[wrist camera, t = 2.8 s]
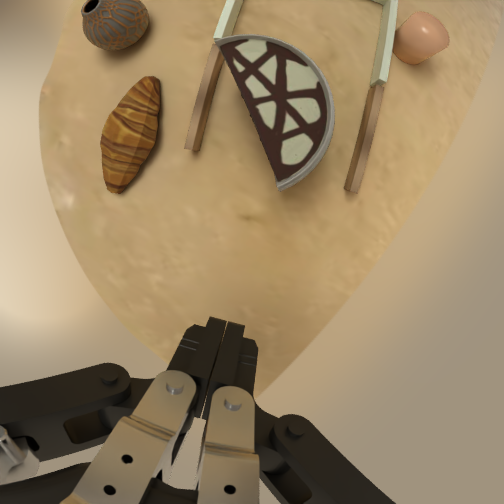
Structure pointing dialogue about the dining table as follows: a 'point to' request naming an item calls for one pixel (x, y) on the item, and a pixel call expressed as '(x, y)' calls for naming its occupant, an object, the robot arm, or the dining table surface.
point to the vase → (114, 22)
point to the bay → (383, 46)
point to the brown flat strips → (362, 141)
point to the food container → (283, 102)
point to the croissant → (130, 133)
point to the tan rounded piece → (419, 38)
